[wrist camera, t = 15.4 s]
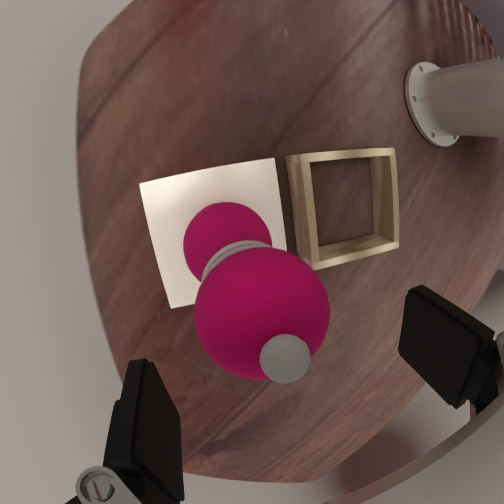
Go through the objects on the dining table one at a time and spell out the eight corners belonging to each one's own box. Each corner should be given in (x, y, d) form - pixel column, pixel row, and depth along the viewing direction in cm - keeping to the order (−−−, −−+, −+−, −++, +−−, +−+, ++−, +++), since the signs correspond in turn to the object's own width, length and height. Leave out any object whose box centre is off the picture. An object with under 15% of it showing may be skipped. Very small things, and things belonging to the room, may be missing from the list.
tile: (271, 158, 27) (274, 157, 26) (287, 277, 31) (290, 281, 30) (140, 183, 25) (139, 183, 24) (171, 304, 29) (171, 308, 28)
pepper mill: (222, 283, 29) (280, 454, 10) (168, 236, 26) (133, 387, 7) (272, 232, 28) (410, 345, 10) (221, 181, 26) (309, 214, 7)
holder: (372, 148, 29) (394, 147, 25) (378, 238, 33) (399, 247, 29) (284, 155, 27) (299, 154, 24) (297, 258, 31) (312, 271, 27)
